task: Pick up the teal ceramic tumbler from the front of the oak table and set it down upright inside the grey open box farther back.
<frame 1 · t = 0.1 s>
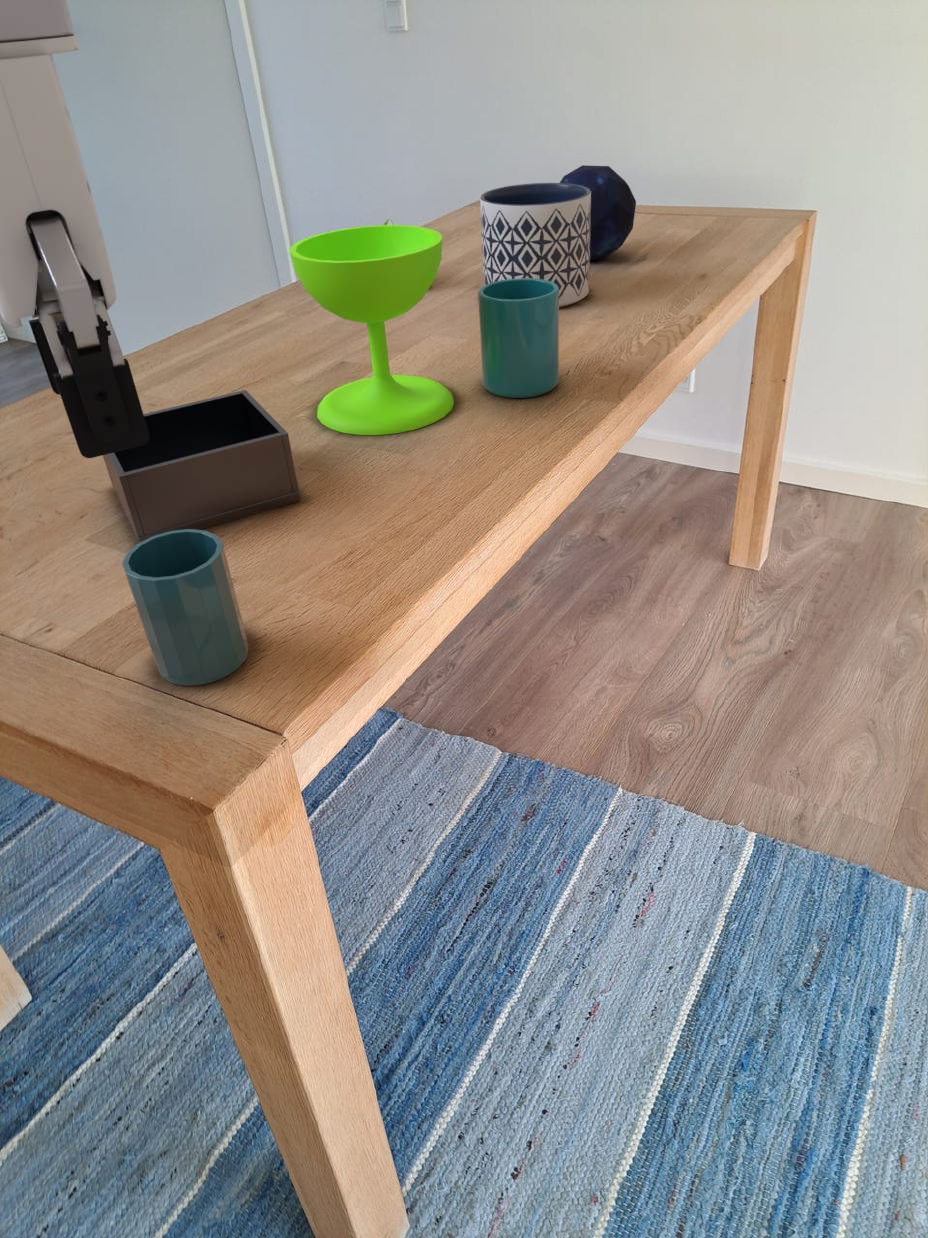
hand: (99, 416, 46), 22 cm above the table, tool pointing down, fingers open, 9 cm apart
decorative orb: (590, 259, 151), on the table
grey open box: (205, 495, 87), on the table
tumbler: (203, 657, 66), on the table
passion flower: (393, 287, 144), on the table
wineglass: (385, 407, 103), on the table
planter: (536, 297, 135), on the table
cup: (524, 382, 107), on the table
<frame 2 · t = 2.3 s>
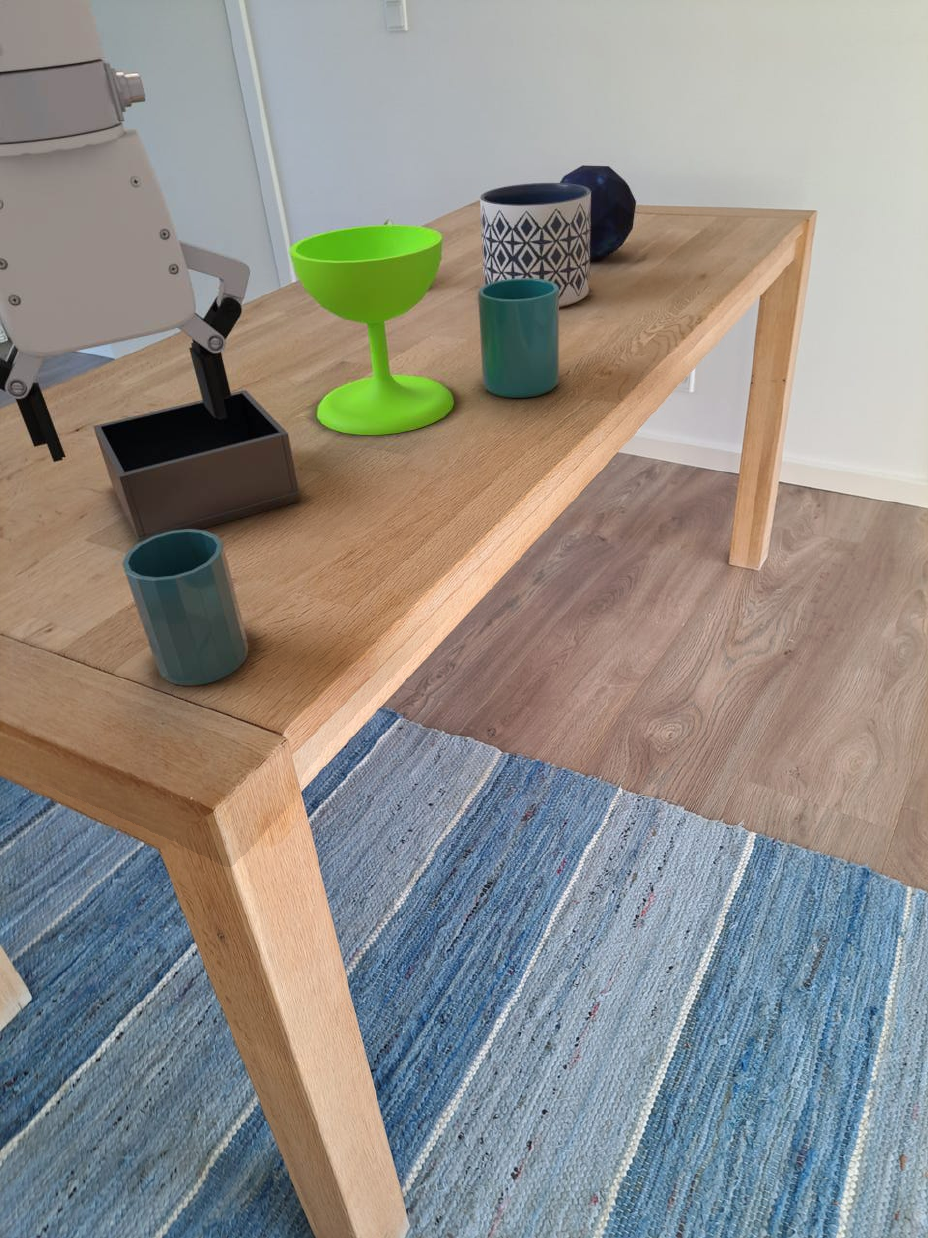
hand: (138, 431, 54), 18 cm above the table, tool pointing down, fingers open, 9 cm apart
nothing on the table moved.
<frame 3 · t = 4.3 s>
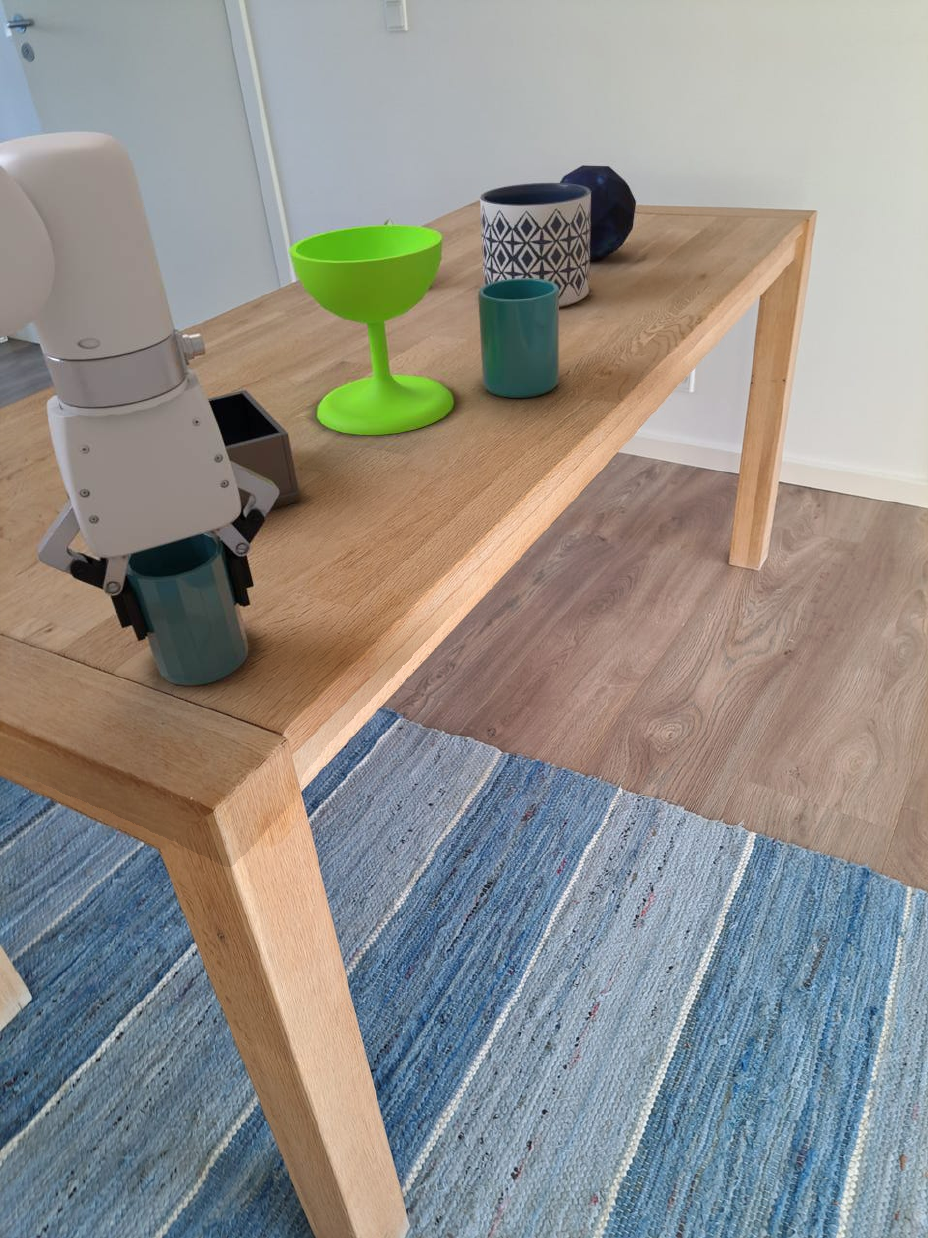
hand: (190, 611, 63), 4 cm above the table, tool pointing down, fingers closed on tumbler, 6 cm apart
tumbler: (203, 657, 66), on the table, touching gripper
everything else where it was.
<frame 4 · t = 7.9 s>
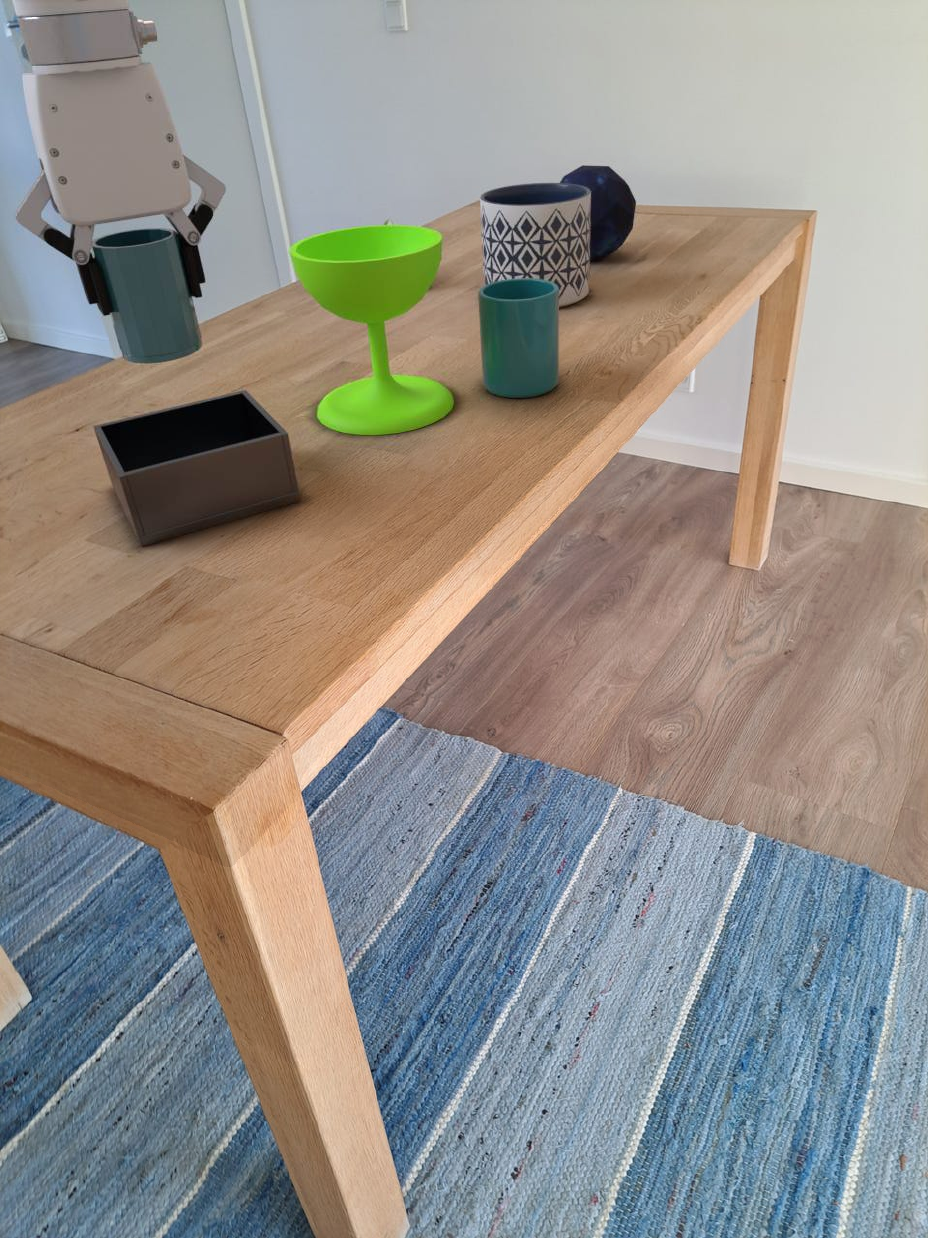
hand: (150, 300, 73), 20 cm above the table, tool pointing down, fingers closed on tumbler, 6 cm apart
tumbler: (163, 349, 75), point 16 cm above the table, touching gripper
everything else where it was.
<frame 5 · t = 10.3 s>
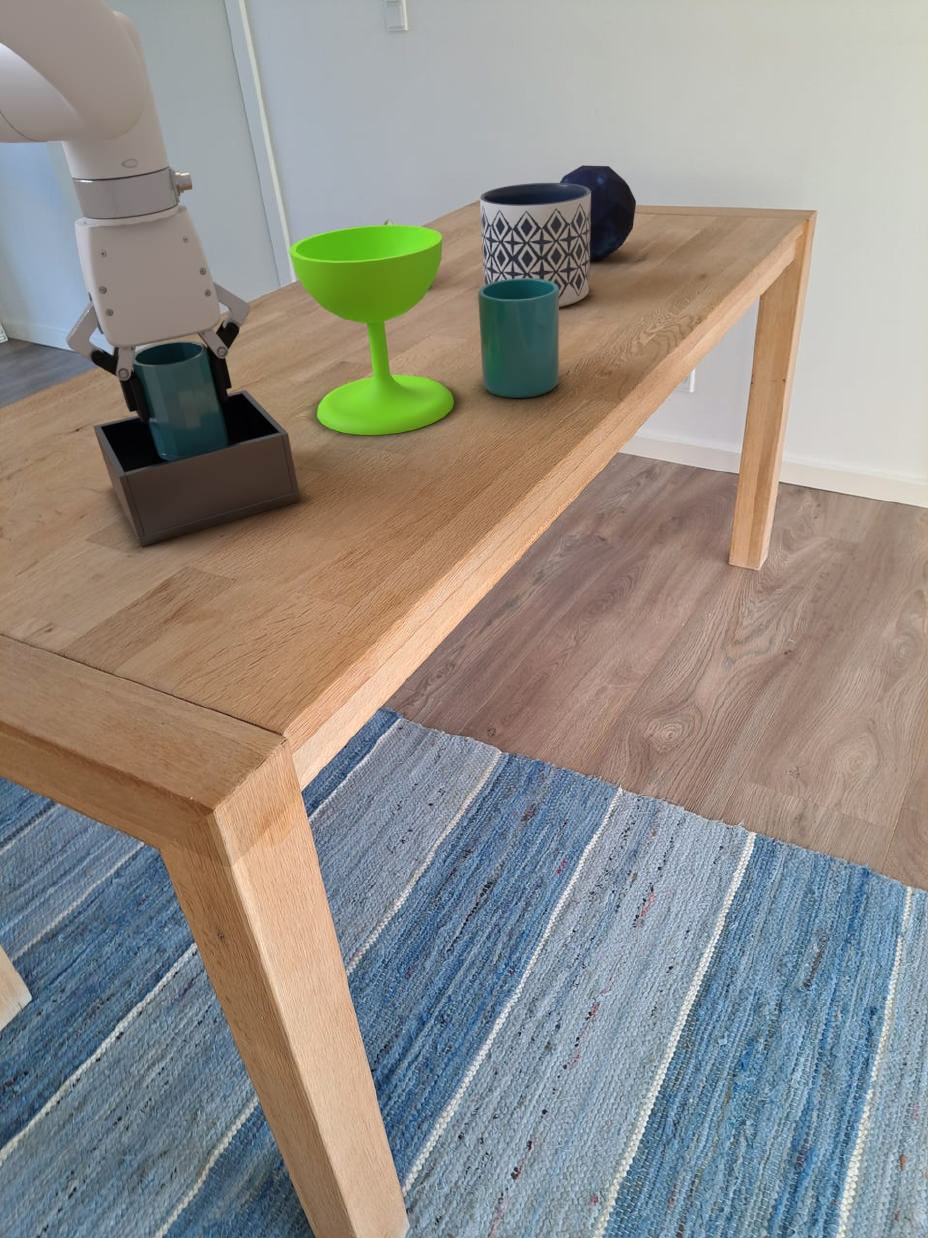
hand: (182, 405, 82), 9 cm above the table, tool pointing down, fingers closed on tumbler, 6 cm apart
tumbler: (193, 446, 84), point 5 cm above the table, touching gripper
everything else where it was.
when the fingers open (5 cm above the table, at t = 11.9 s): tumbler stays where it is, resting on grey open box.
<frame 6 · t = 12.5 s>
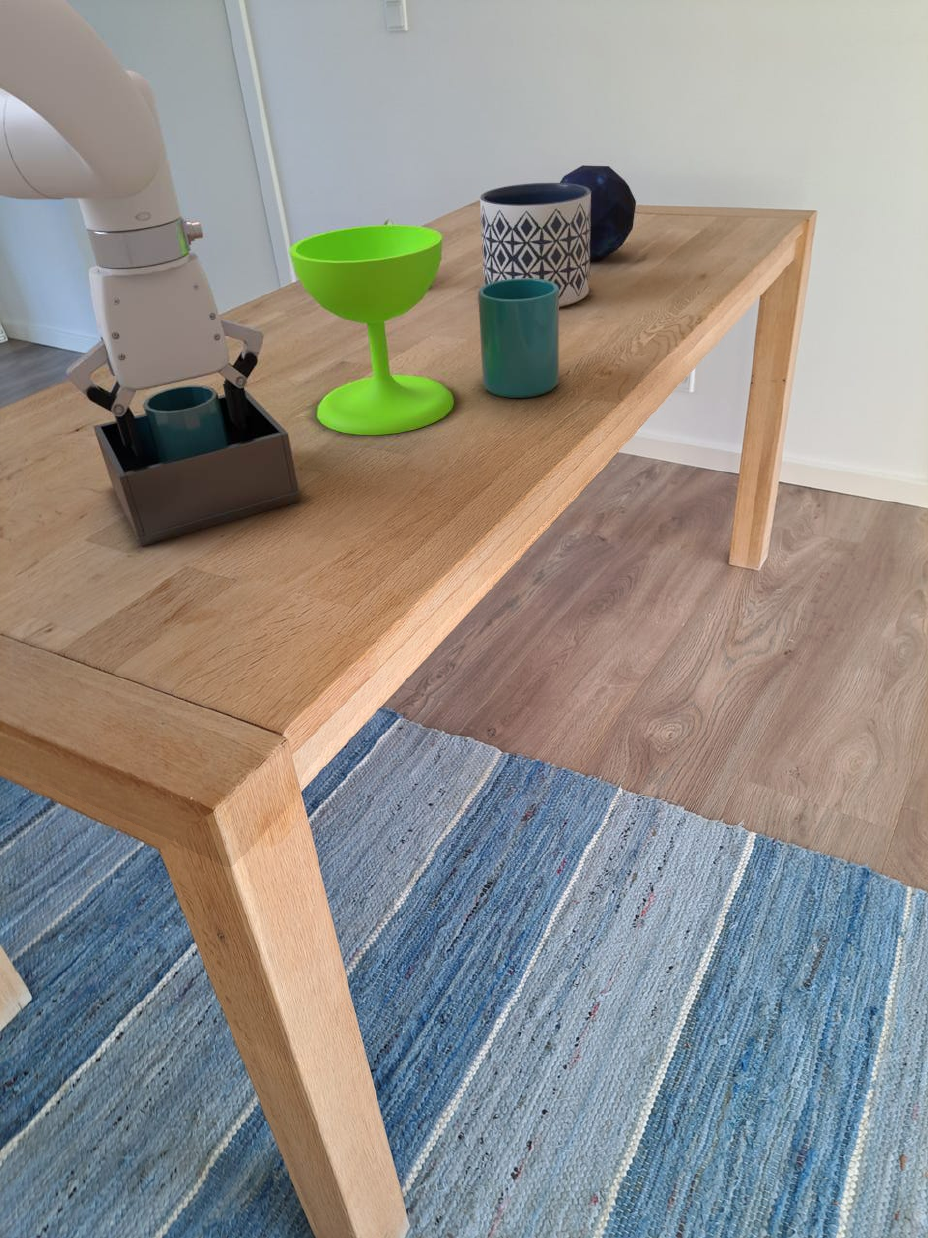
hand: (189, 437, 83), 6 cm above the table, tool pointing down, fingers open, 9 cm apart
tumbler: (203, 486, 86), point 1 cm above the table, touching grey open box
everything else where it was.
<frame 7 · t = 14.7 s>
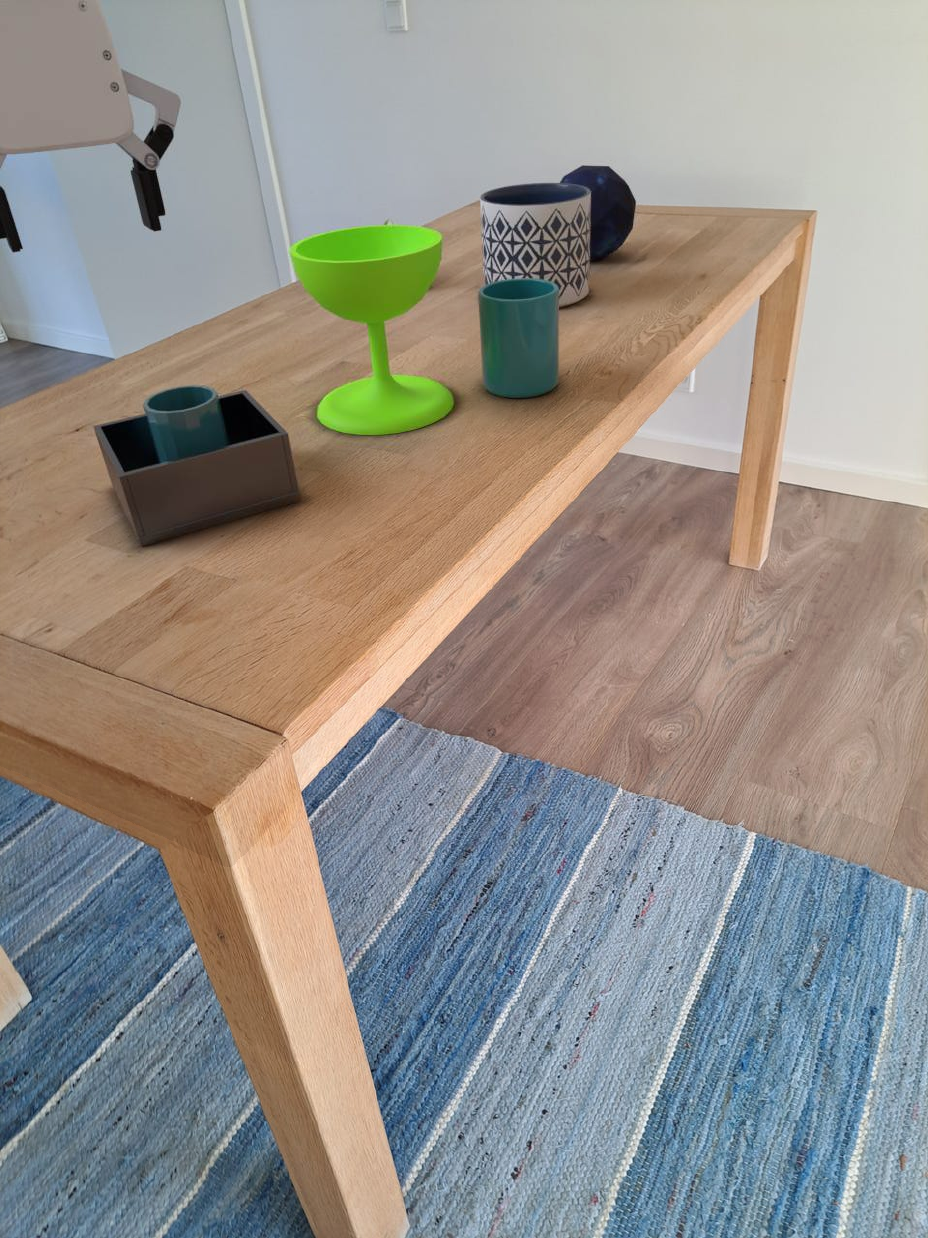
hand: (86, 238, 64), 26 cm above the table, tool pointing down, fingers open, 9 cm apart
nothing on the table moved.
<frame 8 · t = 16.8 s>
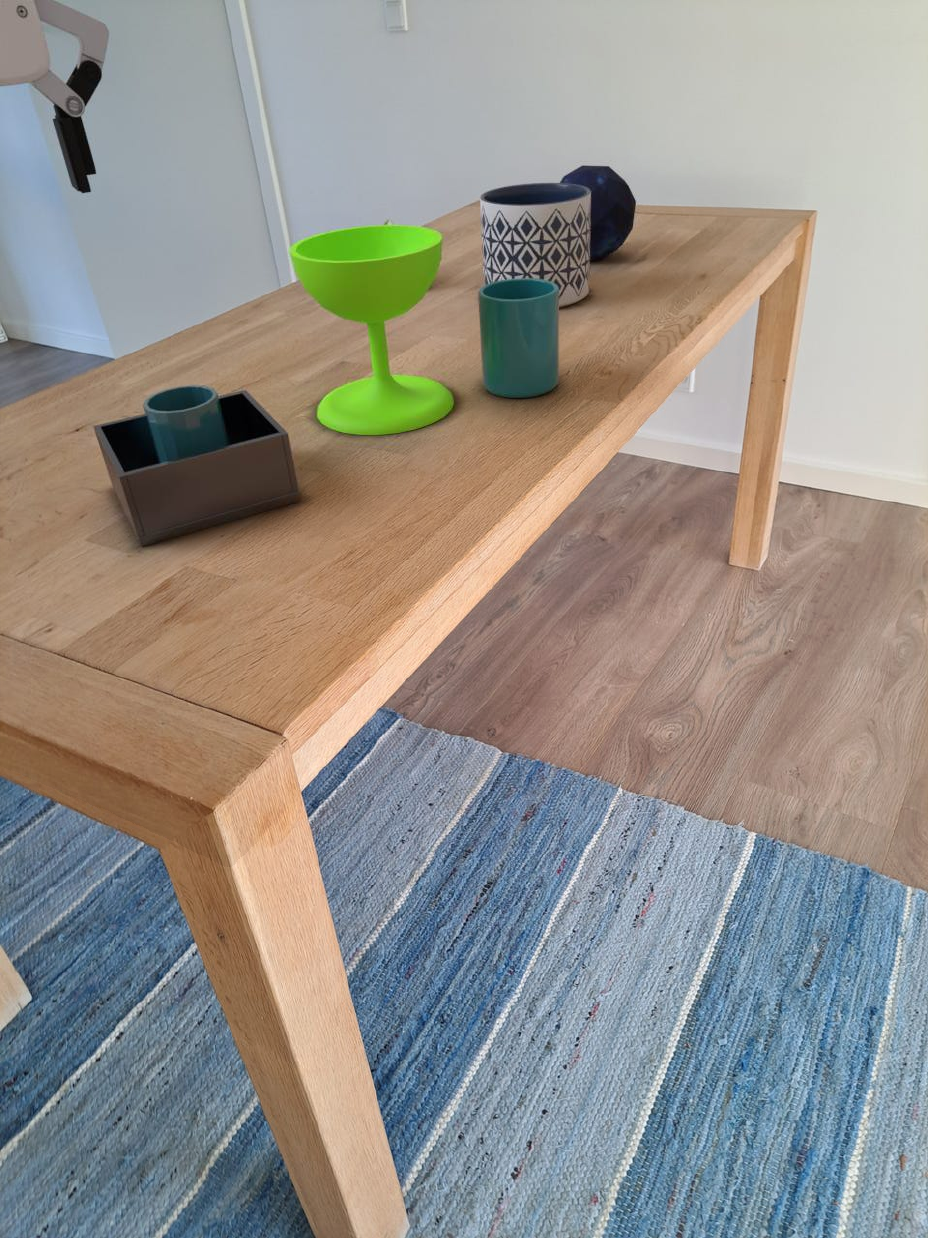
nothing on the table moved.
at the end: tumbler inside the target area in the grey open box (0.0 cm from its centre), point 1.0 cm above the grey open box's base; tumbler tilted 0°; the gripper is holding nothing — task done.
